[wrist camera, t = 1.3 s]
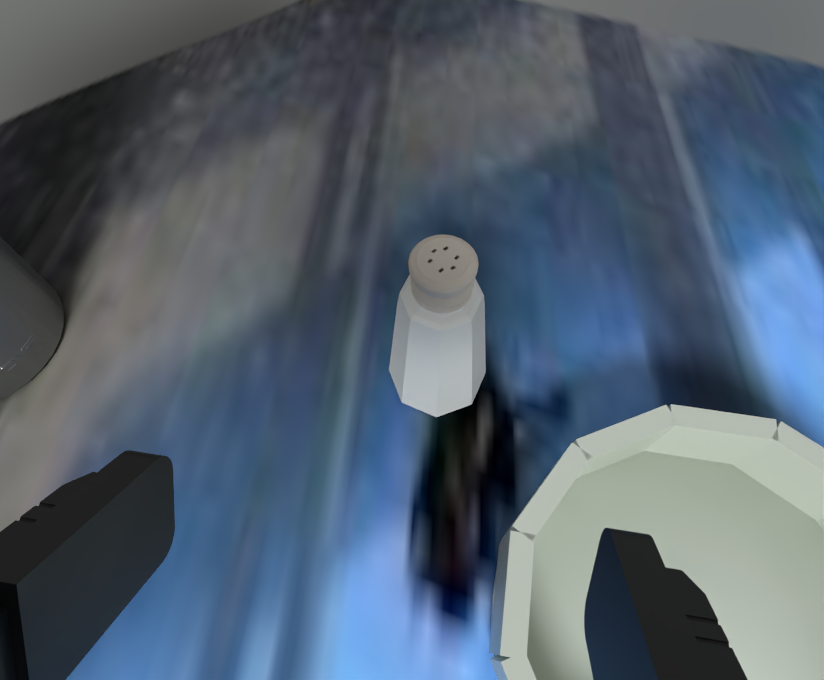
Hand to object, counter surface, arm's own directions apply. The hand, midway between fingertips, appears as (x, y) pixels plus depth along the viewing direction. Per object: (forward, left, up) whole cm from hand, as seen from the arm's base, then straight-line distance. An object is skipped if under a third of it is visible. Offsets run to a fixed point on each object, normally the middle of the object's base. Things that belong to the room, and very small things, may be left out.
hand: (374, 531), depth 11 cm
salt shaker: (-6, +10, -19) cm, 22 cm away
